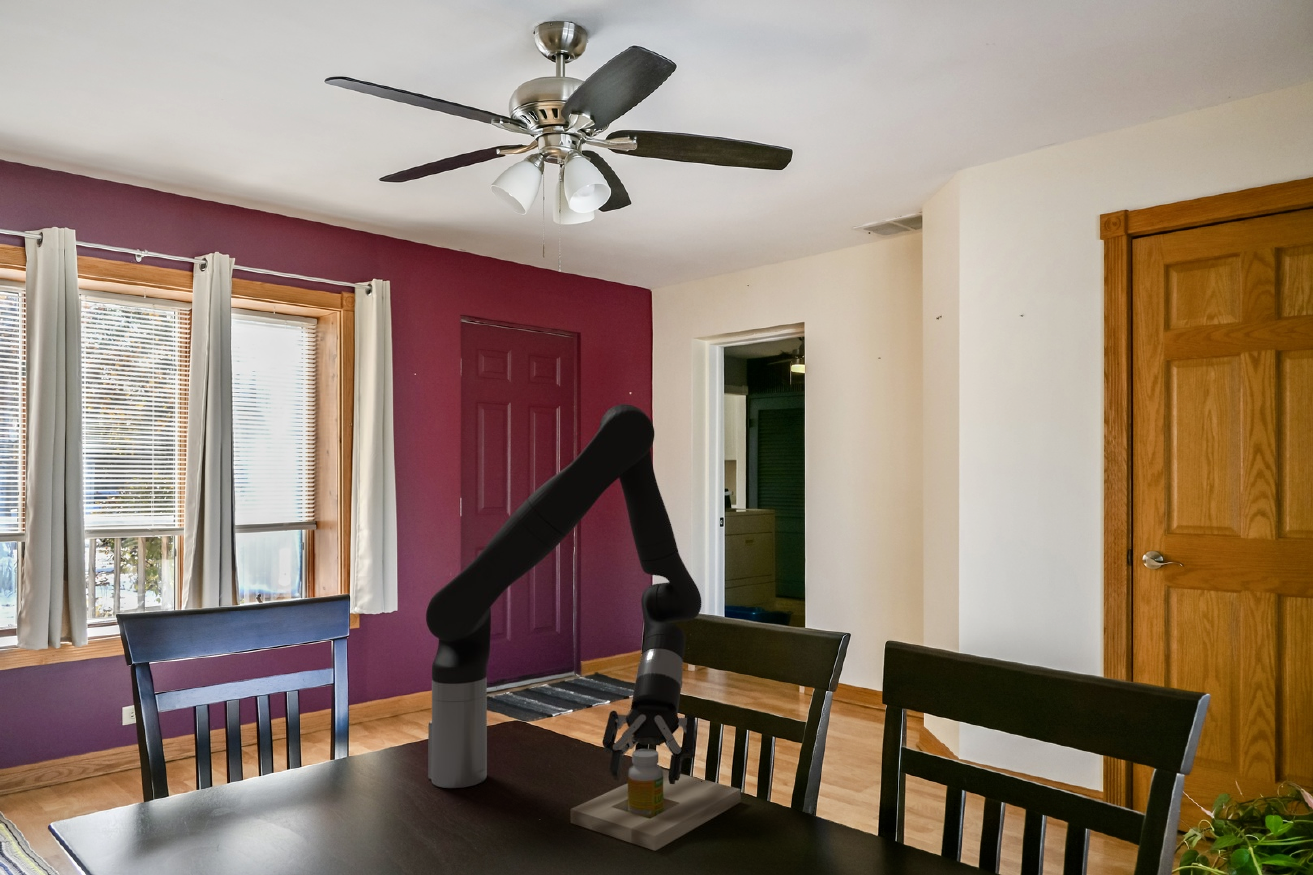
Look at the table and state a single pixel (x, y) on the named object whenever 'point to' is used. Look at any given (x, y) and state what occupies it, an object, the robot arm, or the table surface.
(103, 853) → the table surface
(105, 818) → the table surface
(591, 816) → the socket board
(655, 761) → the supplement bottle
